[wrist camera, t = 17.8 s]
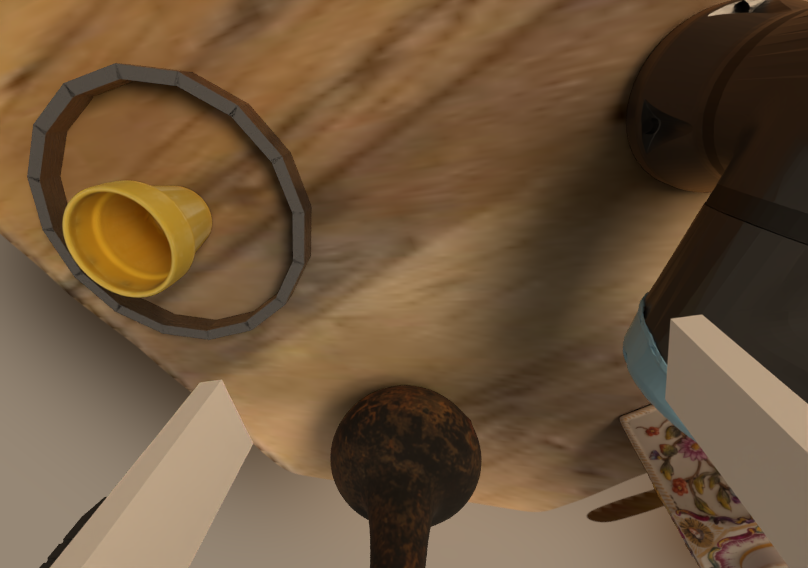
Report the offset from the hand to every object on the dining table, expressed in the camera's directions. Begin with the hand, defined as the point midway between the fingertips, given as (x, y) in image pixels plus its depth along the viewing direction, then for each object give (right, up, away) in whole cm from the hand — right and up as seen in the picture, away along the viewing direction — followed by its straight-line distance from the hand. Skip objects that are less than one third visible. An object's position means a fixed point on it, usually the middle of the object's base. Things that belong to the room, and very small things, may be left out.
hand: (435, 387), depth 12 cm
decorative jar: (+34, -16, +40) cm, 55 cm away
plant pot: (-25, +11, +32) cm, 42 cm away
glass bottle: (0, -15, +43) cm, 45 cm away
